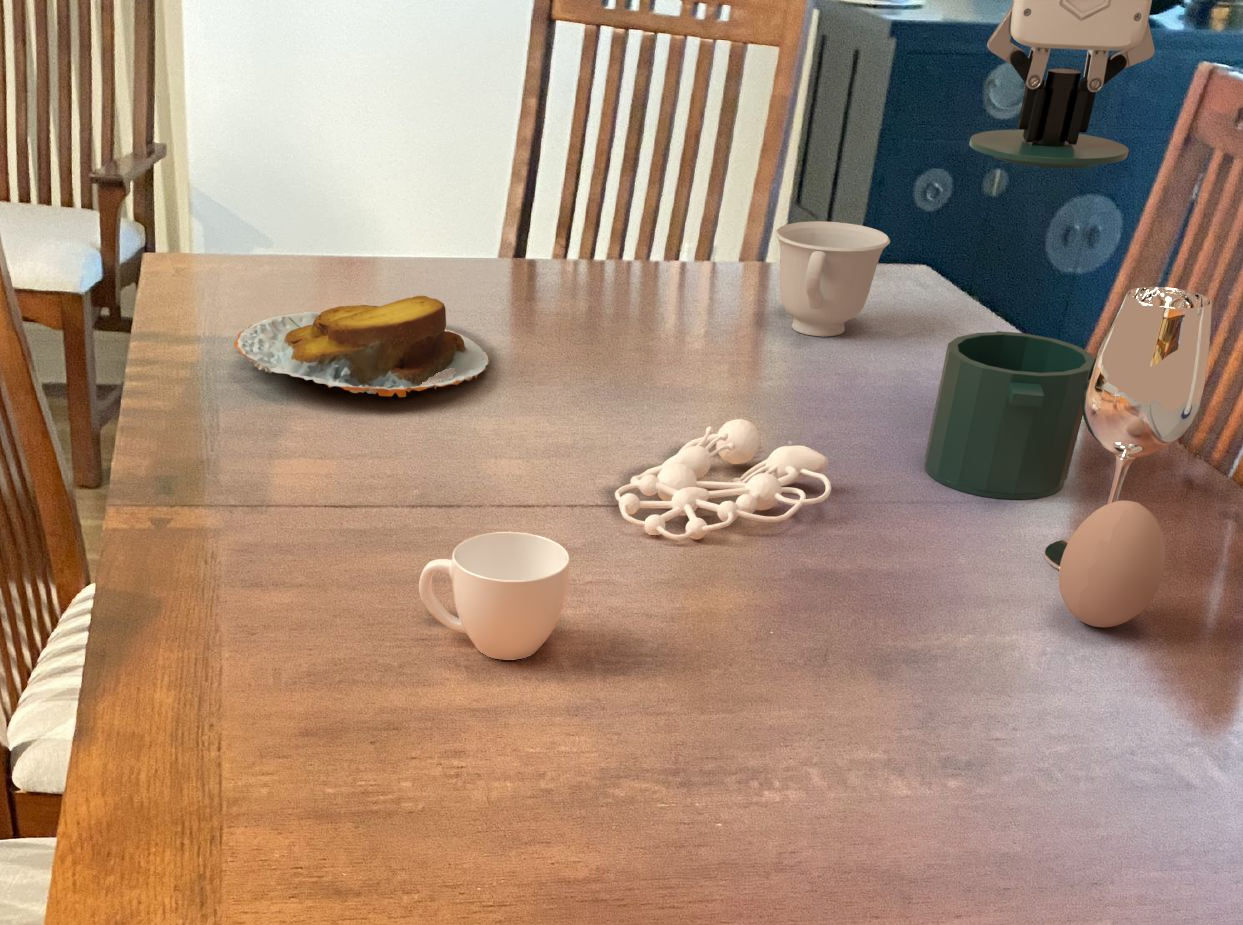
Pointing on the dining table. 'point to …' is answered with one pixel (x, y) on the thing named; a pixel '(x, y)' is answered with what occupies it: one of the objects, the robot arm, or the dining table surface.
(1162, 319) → the wineglass
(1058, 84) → the lid
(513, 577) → the cup
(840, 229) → the teacup
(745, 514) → the tangled rod sculpture
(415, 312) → the food on plate
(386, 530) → the dining table surface
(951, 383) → the pot
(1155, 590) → the egg
